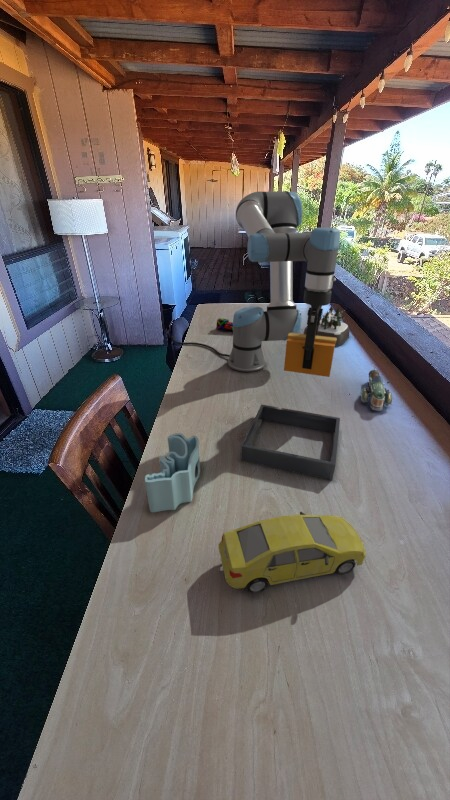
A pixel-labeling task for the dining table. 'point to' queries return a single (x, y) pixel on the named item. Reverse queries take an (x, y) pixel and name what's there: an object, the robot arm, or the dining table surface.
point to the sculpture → (224, 324)
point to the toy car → (289, 550)
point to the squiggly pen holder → (174, 474)
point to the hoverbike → (376, 391)
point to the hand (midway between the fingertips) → (308, 362)
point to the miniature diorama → (333, 327)
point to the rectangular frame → (286, 459)
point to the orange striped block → (320, 356)
